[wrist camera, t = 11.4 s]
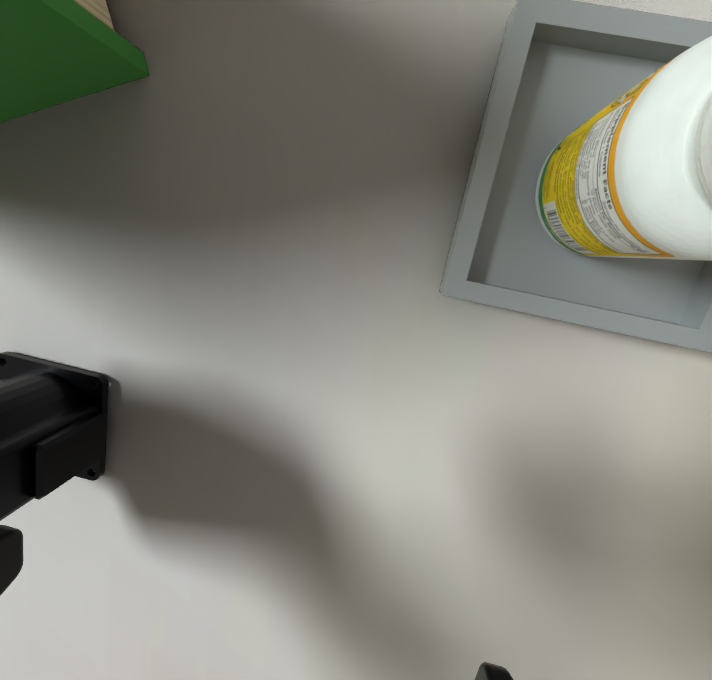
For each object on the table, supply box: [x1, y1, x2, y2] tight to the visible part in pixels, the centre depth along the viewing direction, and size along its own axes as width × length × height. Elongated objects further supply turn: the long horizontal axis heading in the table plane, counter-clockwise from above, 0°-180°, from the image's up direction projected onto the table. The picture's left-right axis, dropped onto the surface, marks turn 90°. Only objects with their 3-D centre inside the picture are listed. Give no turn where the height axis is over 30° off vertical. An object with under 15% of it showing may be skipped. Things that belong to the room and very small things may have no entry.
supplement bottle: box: [535, 36, 712, 261], centre depth 11 cm, size 5×5×10 cm
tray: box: [439, 0, 712, 353], centre depth 16 cm, size 11×11×2 cm
